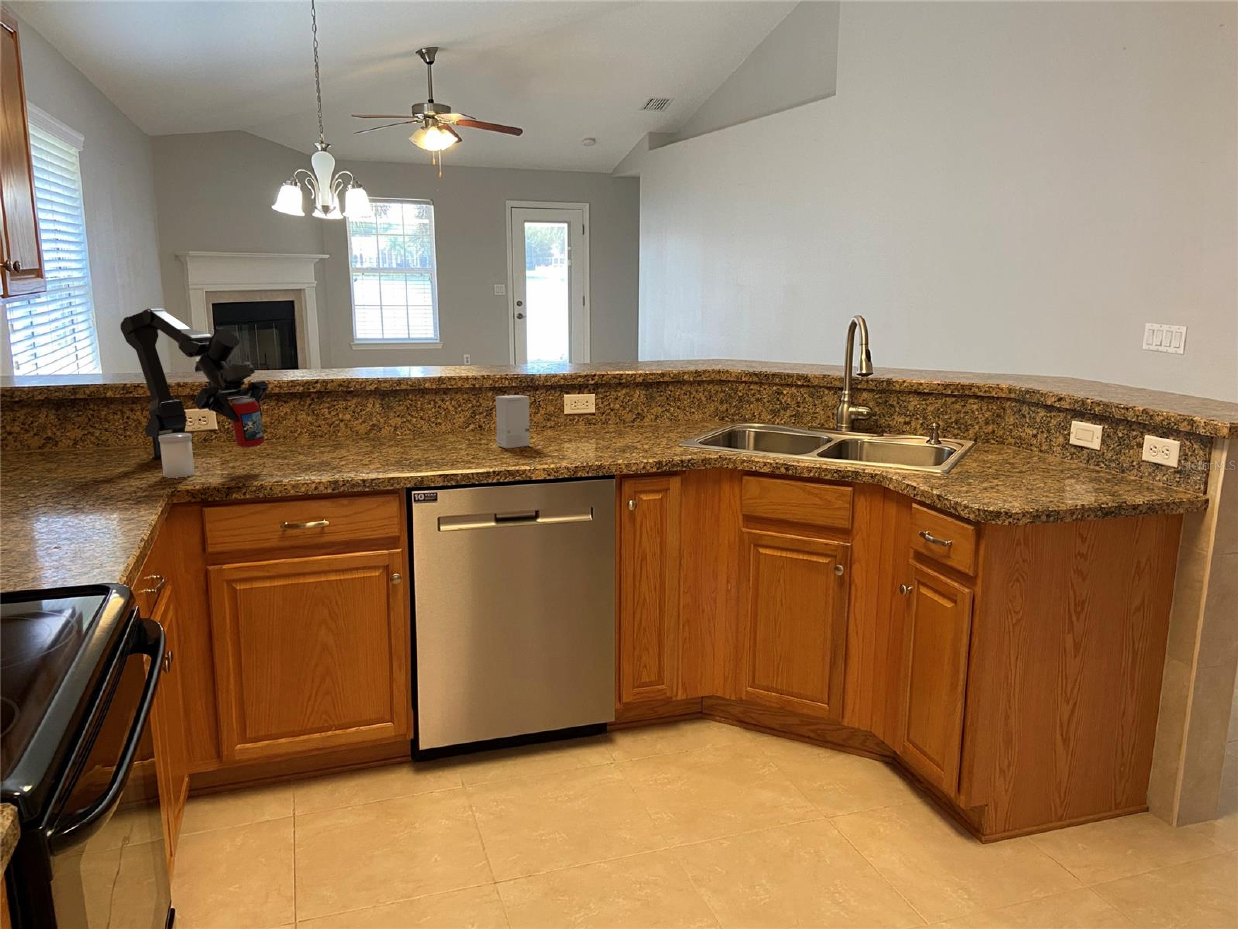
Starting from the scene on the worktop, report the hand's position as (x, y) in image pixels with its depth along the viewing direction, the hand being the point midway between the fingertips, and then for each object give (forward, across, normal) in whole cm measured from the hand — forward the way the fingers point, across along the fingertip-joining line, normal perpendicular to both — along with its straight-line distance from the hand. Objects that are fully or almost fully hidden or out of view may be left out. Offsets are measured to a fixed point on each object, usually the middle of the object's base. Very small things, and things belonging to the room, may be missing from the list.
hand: (249, 419), depth 228 cm
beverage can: (+4, +1, +6) cm, 7 cm away
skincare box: (+36, +60, -18) cm, 72 cm away
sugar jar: (+2, -13, +17) cm, 22 cm away
